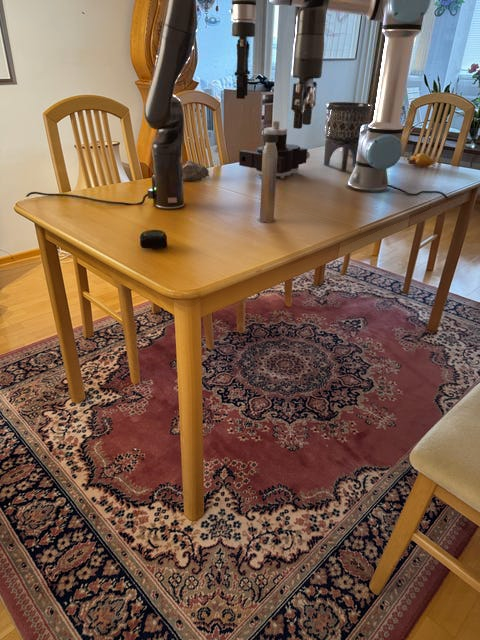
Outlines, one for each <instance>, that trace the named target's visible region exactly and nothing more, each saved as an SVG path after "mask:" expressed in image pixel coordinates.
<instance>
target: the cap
mask: <svg viewBox="0 0 480 640" xmlns="http://www.w3.org/2000/svg"><path fill="white" fill-rule="evenodd" d="M262 141H263V143H264V142H268V143H276V142H278V134H277V133H264V132H263V139H262Z"/></svg>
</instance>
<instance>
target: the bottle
mask: <svg viewBox="0 0 480 640" xmlns="http://www.w3.org/2000/svg"><path fill="white" fill-rule="evenodd" d="M276 171H277V148H276V143H268V142H266V143H265V147H264V150H263V156H262V175H261V179H260V180H261V182H260V183H261V184H260V202H259V203H260V206H259V221H260V222H262V223H273V222H274V221H275V207H276V206H275V203H276V187H277V176H276Z"/></svg>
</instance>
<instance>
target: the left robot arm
mask: <svg viewBox="0 0 480 640" xmlns="http://www.w3.org/2000/svg"><path fill="white" fill-rule="evenodd" d="M328 5H329V0H303V5H302V7H299V8H298V10H297V14H296V24H295V37H294V42H293V50H292V51H293V52H292V66H291V77H292V78H294V79H297V80H298V81H297V83H293V85H292V98H291V108H290V109H291V111H293V125H292V128H293V129H298V130H300V129H302V128H303V125H306V126H310V125H311V124H312V114H313V110H314V107H315V106H316V101H317V100H316V99H317V88H318V87H317V86H318V81H314V79H320V78H321V77H322V76H323V75H322V74H323V63H324V54H325V34H326V33H325V31H326V22H327V8H328ZM198 17H199V16H198V7H197V0H166V5H165V9H164V14H163V20H162V25H161V31H160V35H159V42H158V47H157V48H158V49H157V53H156V58H155V63H154V69H153V74H152V78H151V81H150V85H149V88H148V92H147V94H146V99H145V103H144V108H143V114H144V115H143V116H144V119H145V122H146V124H147V125H148V126H149V128H151V129H153V130H158V131H157V135H156V137H155V138H154V140H152V142H151V155H152V168H153V175H152V176H151V188H150V189H148V190H147V193H146V194H145V195H144V196H143V197H142V200H141V201H140V202H137V203H131V202H124V201H111V200H104V199H99V198H92V197H88V196H83V195H78V194H69V193H45V192H39V191H31V192H28V193H27V194H26V195H25V198H29V197H30V196H32V195H40V196H41V195H42V196H47V197H70V198H77V199H83V200H89V201H93V202H99V203H104V204H112V205H125V206H138V205H142V204H144V203H145V201H146V198H148V199H150V200H152V201H153V203H152V204H153V207H156V208H157V209H161V210H177V209H181V208H183V207H184V206H185V197H184V196H185V195H184V181H183V169H182V166H183V149H182V148H183V144H184V139H185V120H184V119H185V117H184V116H185V114H184V108H183V105H182V102H181V100H180V99H179V98H178V97H177V96H176V95H174V90H175V86H176V84H177V81H178V79H179V77H180V75H181V74H182V72H183V70H184V69H185V66H187V64H188V62H189V61H190V58H191V55H192V54H193V53H192V52H193V49H194V45H195V41H196V37H197V32H198V25H199V24H198V23H199V22H198V21H199V18H198Z"/></svg>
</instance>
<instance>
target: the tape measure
mask: <svg viewBox="0 0 480 640" xmlns="http://www.w3.org/2000/svg"><path fill="white" fill-rule="evenodd" d="M167 236H168V235H167V234H166V232H165V231H164V230H161V229H147V230H144V231H143V232H141V233H140V235H139V240H140V241H139V245H140V246H139V247H141V248H142V249H146V250H157V249H167V248H168V240H167V239H168V237H167Z"/></svg>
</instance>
